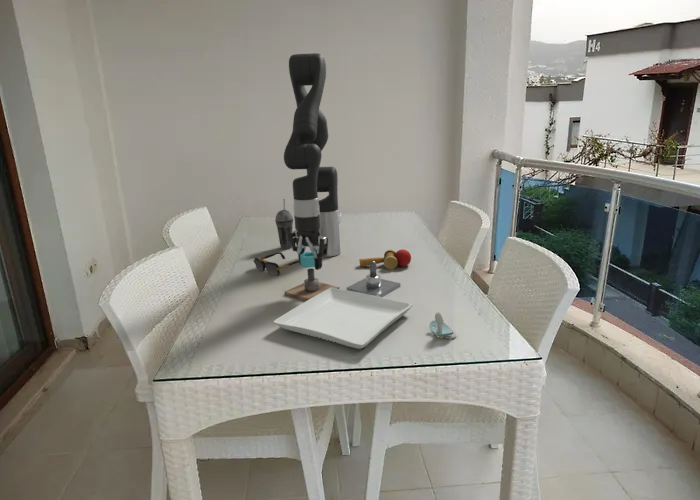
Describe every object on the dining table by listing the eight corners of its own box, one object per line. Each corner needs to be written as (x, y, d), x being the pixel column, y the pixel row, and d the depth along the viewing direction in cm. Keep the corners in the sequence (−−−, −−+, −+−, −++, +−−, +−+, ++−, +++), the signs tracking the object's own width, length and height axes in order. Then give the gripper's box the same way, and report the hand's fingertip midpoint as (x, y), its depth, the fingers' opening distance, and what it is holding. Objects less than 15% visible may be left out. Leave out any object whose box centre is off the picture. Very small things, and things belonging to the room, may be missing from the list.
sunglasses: (309, 266, 176) (308, 253, 174) (276, 278, 165) (275, 264, 164) (284, 259, 185) (283, 246, 184) (251, 270, 175) (250, 257, 173)
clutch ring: (296, 265, 148) (296, 255, 147) (309, 259, 152) (309, 250, 151) (310, 268, 144) (310, 259, 144) (323, 263, 149) (323, 253, 148)
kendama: (361, 274, 168) (412, 266, 167) (357, 256, 168) (410, 248, 166) (362, 271, 176) (411, 263, 174) (359, 254, 175) (409, 246, 174)
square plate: (363, 359, 112) (363, 344, 110) (272, 334, 126) (270, 320, 124) (413, 314, 133) (413, 301, 132) (331, 297, 147) (330, 285, 146)
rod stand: (284, 294, 150) (282, 271, 148) (311, 282, 159) (309, 260, 157) (313, 303, 143) (311, 279, 141) (339, 290, 152) (338, 267, 149)
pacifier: (448, 327, 125) (426, 329, 124) (450, 304, 123) (427, 307, 122) (461, 340, 118) (437, 343, 117) (462, 316, 116) (438, 319, 115)
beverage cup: (274, 249, 197) (269, 200, 191) (283, 244, 203) (279, 197, 197) (290, 251, 194) (286, 201, 188) (298, 245, 200) (295, 197, 194)
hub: (346, 290, 151) (345, 263, 148) (369, 279, 160) (368, 252, 157) (378, 298, 144) (377, 270, 141) (400, 286, 153) (400, 258, 150)
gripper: (280, 213, 145) (285, 266, 150) (316, 218, 136) (320, 275, 141) (298, 207, 151) (302, 259, 156) (333, 213, 142) (336, 267, 147)
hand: (310, 266), depth 149 cm, fingers closed on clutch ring, 5 cm apart
